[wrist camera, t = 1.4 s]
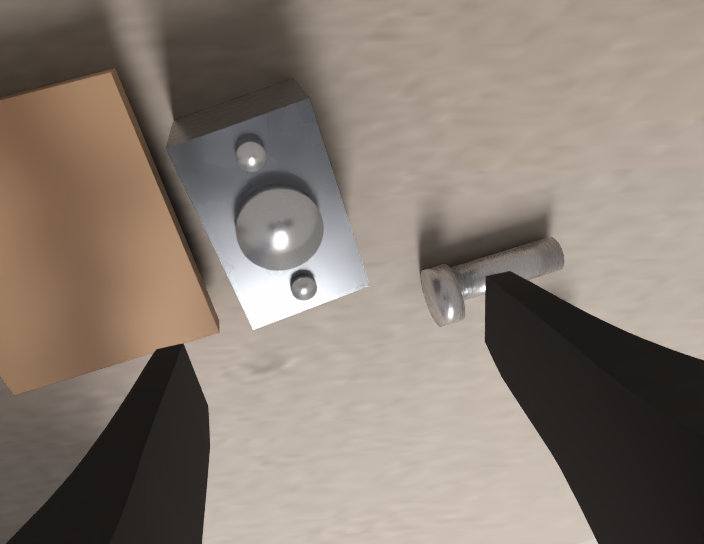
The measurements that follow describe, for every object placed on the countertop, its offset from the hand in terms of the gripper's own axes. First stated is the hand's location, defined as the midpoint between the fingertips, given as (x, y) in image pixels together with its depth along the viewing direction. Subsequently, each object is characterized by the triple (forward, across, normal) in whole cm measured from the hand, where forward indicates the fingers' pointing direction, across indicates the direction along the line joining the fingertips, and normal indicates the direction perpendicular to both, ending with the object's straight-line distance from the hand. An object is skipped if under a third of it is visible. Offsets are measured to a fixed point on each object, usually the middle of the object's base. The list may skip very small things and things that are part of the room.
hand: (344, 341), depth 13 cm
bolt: (+10, -8, +6) cm, 14 cm away
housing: (+10, +1, 0) cm, 10 cm away
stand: (+10, +9, 0) cm, 13 cm away
